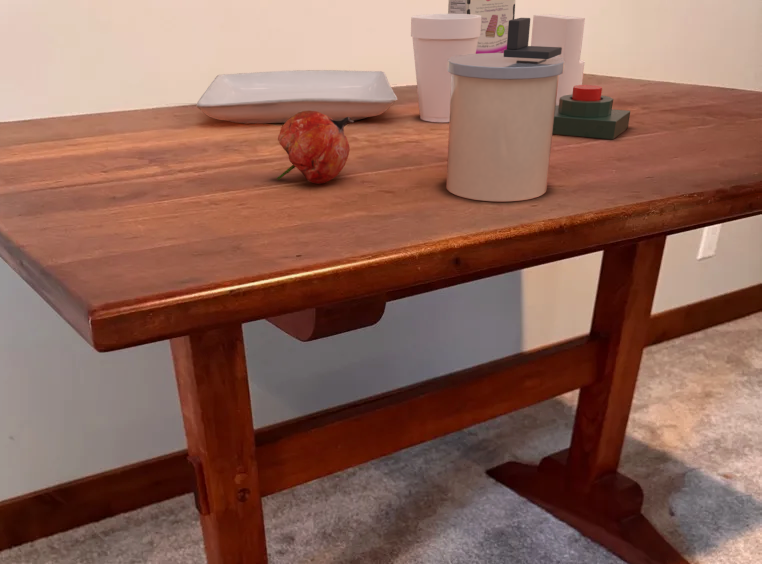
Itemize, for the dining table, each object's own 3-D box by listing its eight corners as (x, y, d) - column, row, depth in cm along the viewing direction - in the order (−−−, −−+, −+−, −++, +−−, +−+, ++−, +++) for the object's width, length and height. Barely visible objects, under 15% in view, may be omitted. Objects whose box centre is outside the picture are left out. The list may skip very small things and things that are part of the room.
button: (603, 100, 103) (605, 85, 103) (596, 104, 101) (598, 89, 100) (576, 98, 105) (577, 84, 104) (568, 102, 102) (569, 88, 101)
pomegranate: (283, 212, 82) (357, 155, 77) (241, 150, 81) (314, 89, 76) (309, 201, 88) (379, 147, 84) (271, 143, 87) (340, 86, 82)
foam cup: (489, 117, 113) (496, 15, 106) (445, 127, 107) (450, 20, 101) (439, 109, 119) (442, 12, 112) (395, 118, 114) (396, 16, 107)
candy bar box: (489, 84, 140) (496, -22, 131) (510, 87, 136) (519, -22, 128) (443, 91, 134) (447, -20, 125) (464, 94, 130) (470, -19, 122)
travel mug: (563, 181, 82) (579, 54, 76) (530, 208, 74) (544, 68, 68) (466, 170, 87) (473, 49, 81) (424, 194, 79) (429, 62, 73)
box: (628, 128, 106) (632, 96, 104) (613, 139, 100) (618, 105, 98) (554, 121, 110) (557, 91, 108) (535, 132, 104) (538, 100, 102)
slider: (561, 54, 74) (565, 18, 72) (548, 59, 71) (551, 21, 69) (517, 52, 76) (520, 17, 74) (503, 57, 73) (505, 20, 71)
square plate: (219, 96, 132) (217, 71, 130) (384, 93, 132) (384, 68, 130) (197, 129, 108) (194, 99, 106) (398, 125, 109) (398, 95, 107)
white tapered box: (508, 101, 125) (515, 15, 119) (556, 96, 128) (565, 13, 122) (541, 110, 117) (550, 20, 111) (592, 105, 120) (603, 17, 114)
